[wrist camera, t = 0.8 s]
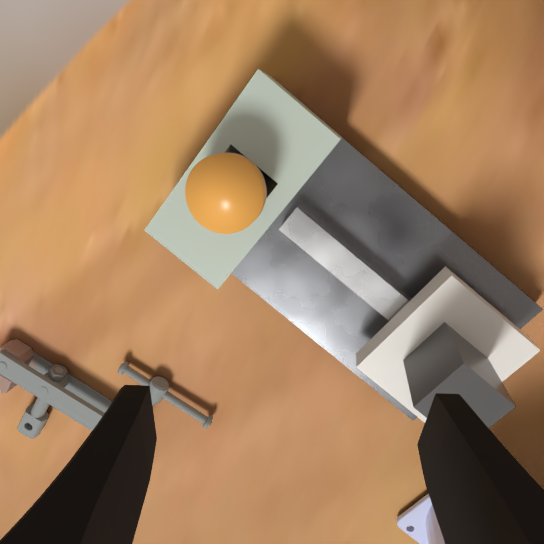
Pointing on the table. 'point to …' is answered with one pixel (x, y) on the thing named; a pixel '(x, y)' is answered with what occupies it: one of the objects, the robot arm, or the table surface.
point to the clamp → (68, 390)
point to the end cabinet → (263, 153)
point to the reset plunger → (225, 192)
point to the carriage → (447, 350)
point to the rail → (362, 258)
